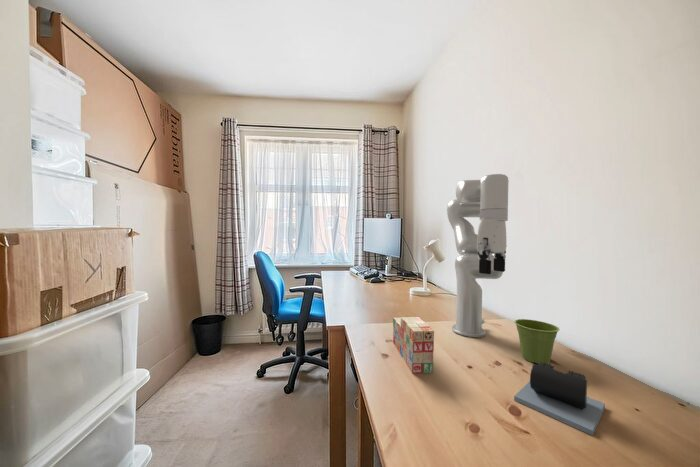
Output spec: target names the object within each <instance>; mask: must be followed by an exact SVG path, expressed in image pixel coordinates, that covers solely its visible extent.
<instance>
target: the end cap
mask: <svg viewBox="0 0 700 467" xmlns="http://www.w3.org/2000/svg"><path fill="white" fill-rule="evenodd" d="M554 368H555V366H554V365H552V364H550V363H549V364H546V363H542V362H540V363H539V364H537V363H533V364H532V366H531V369H530V375H529V376H530V377H529V381H530V386H531V388H532V389H533V390H534V391H535V392H537V393H539V394H542V395H545V396H547V397H550V398H553V399H555V400H558V401H561V402H563V403H566V404H569V405H572V406H574V407H577V408H580V409H582V410H583V409H584V408H586V405H587V397H588V396H587V394H588V393H587V392H588V388H587V387H588V380H587V378H586V376H585V375H584V374H583V373H582V374H581V373H578V372H575V371H573V370H568V371H567V373H566V372H562V371H559V370H556V369H554Z"/></svg>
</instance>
